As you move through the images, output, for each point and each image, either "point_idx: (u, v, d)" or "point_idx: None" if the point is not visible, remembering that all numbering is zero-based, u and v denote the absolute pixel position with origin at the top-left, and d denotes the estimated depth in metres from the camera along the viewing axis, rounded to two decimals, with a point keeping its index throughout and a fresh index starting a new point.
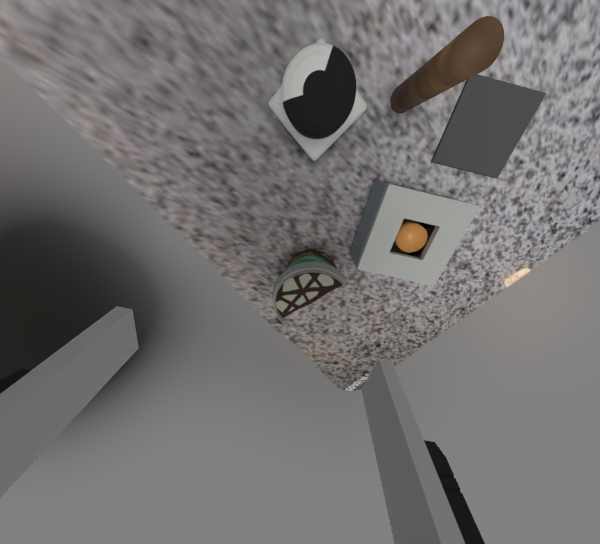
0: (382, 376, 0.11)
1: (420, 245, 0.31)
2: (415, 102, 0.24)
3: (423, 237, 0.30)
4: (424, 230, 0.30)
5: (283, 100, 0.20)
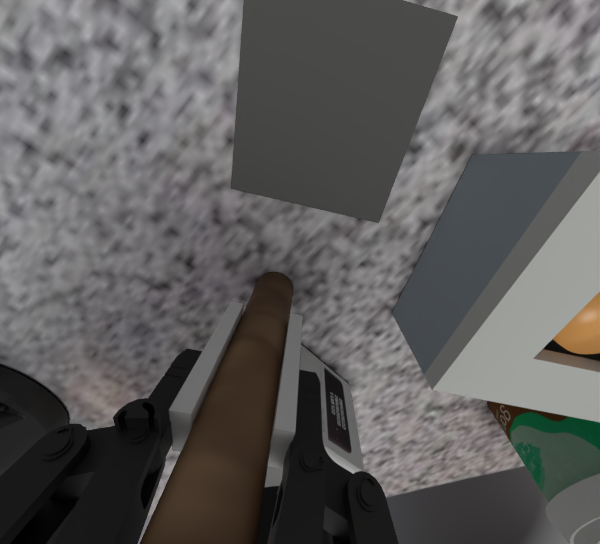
0: (288, 325, 0.13)
1: None
2: None
3: None
4: (598, 298, 0.10)
5: None
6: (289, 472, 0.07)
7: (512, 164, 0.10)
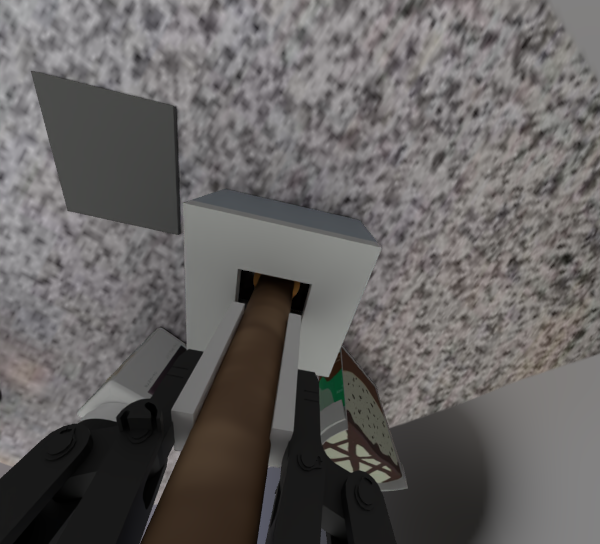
0: (287, 325, 0.13)
1: None
2: None
3: None
4: None
5: None
6: (287, 472, 0.07)
7: None
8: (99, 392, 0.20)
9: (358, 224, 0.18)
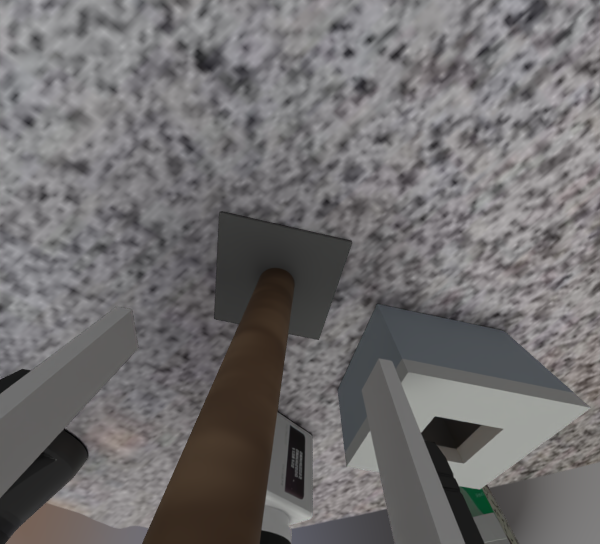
0: (382, 376, 0.11)
1: None
2: (287, 337, 0.13)
3: None
4: None
5: None
6: None
7: (386, 334, 0.17)
8: None
9: (516, 345, 0.18)
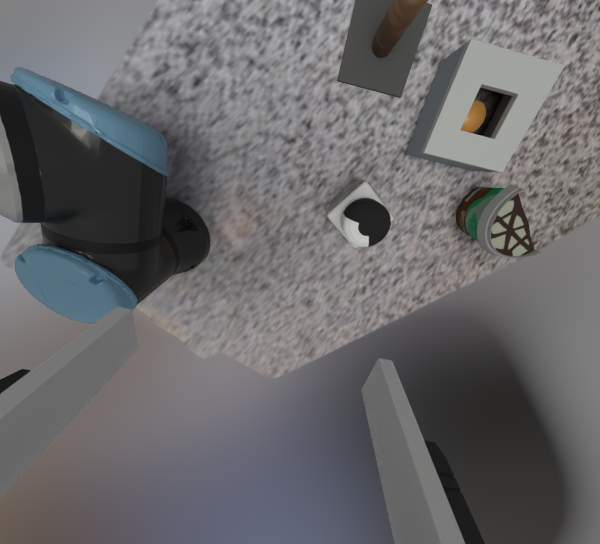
0: (382, 376, 0.11)
1: (480, 106, 0.31)
2: None
3: (472, 105, 0.31)
4: None
5: (367, 246, 0.32)
6: None
7: (451, 57, 0.29)
8: (354, 191, 0.34)
9: None
